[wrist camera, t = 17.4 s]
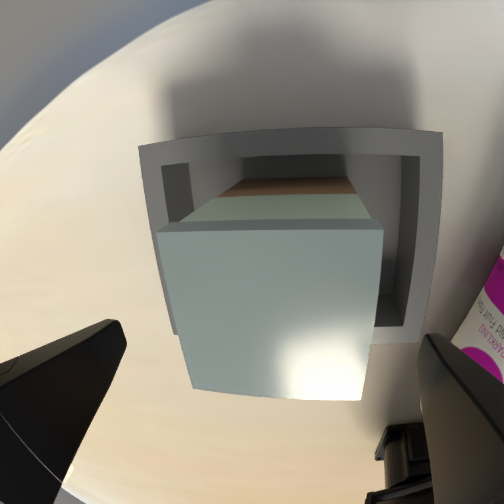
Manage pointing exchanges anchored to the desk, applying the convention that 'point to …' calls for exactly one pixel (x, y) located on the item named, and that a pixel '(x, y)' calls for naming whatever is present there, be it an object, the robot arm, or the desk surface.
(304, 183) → the walnut block
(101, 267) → the desk surface
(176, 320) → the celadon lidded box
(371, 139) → the tote
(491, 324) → the supplement can
